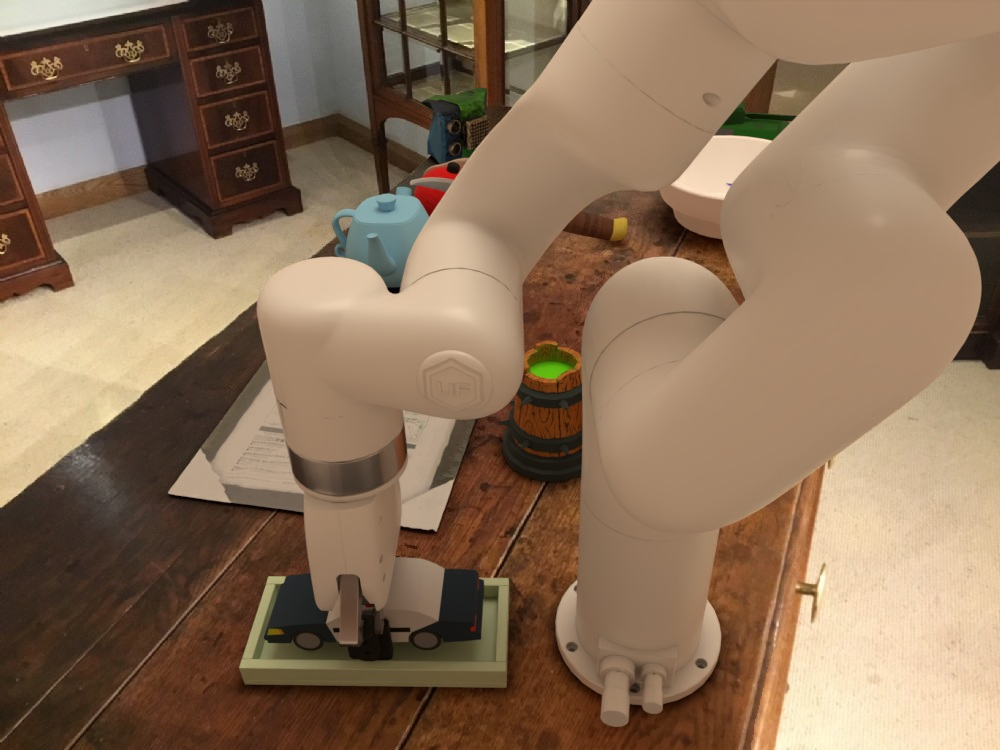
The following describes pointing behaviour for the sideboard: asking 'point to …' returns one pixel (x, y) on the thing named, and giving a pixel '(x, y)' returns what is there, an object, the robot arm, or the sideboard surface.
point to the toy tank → (754, 124)
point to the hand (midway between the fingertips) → (377, 621)
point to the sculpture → (457, 124)
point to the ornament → (434, 196)
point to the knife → (578, 225)
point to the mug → (547, 416)
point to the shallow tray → (407, 667)
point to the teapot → (382, 233)
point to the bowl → (710, 182)
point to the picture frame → (267, 470)
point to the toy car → (388, 608)
